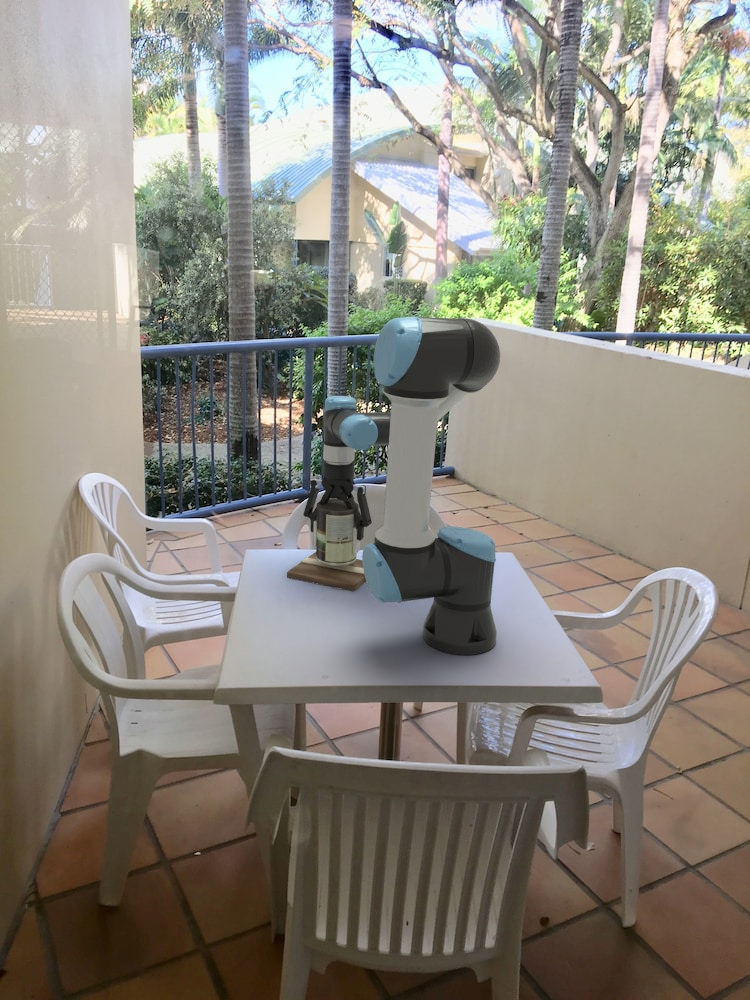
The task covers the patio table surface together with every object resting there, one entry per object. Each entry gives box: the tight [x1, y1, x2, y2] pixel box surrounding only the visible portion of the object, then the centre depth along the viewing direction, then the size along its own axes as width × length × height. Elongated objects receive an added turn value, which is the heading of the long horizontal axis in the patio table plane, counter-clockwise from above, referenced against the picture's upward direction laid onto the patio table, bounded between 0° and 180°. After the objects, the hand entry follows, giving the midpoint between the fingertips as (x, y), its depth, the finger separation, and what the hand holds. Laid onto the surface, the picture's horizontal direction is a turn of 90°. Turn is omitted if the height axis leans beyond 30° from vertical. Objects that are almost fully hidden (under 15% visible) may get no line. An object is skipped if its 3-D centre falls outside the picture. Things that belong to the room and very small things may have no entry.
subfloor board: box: [286, 551, 366, 592], centre depth 185 cm, size 16×18×2 cm
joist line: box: [300, 557, 364, 574], centre depth 186 cm, size 3×18×1 cm, turn 68°
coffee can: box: [315, 498, 360, 566], centre depth 183 cm, size 10×10×14 cm
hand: (336, 548), depth 185 cm, fingers closed on coffee can, 10 cm apart
